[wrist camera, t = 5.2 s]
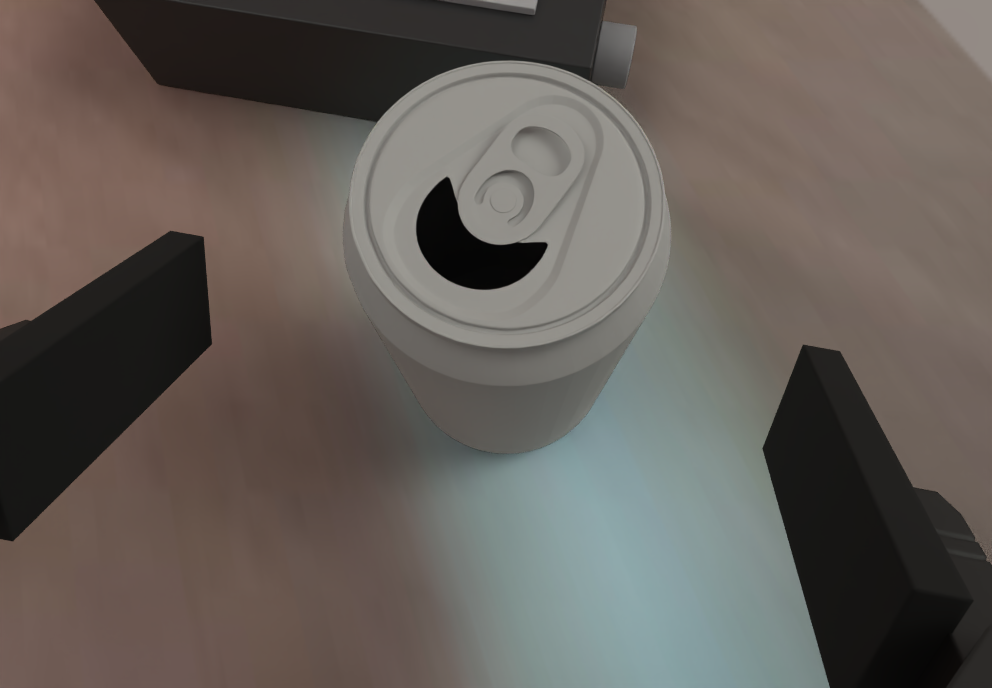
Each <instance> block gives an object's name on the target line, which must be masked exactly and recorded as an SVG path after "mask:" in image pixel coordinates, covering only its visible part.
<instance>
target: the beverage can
mask: <svg viewBox="0 0 992 688" xmlns="http://www.w3.org/2000/svg"><path fill="white" fill-rule="evenodd" d="M343 247H344V257H345V263H346V267H347V271H348V274H349V276H350V279H351V282H352V284H353V287H354V289H355V292H356V294H357V296H358V299H359V301H360V303H361V305H362V307H363V309H364V311H365V312H366V314H367V316H368V318H369V319H370V321H371V323H372V324H373V326H374V328H375V329H376V331H377V333H378V334H379V336H380V338H381V339H382V341H383V343H384V344H385V346H386V348H387V350H388V351H389V353H390V355H391V356H392V358H393V360H394V361H395V363H396V365H397V366H398V368H399V370H400V371H401V373H402V375H403V376H404V378H405V380H406V382H407V383H408V385H409V387H410V388H411V390H412V392H413V393H414V395H415V397H416V398H417V400H418V402H419V403H420V405H421V407H422V408H423V410H424V411H425V413H426V414H427V415H428V417H429V418H430V419H431V420H432V421H433V422H434V423H435V424H436V426H438V427H439V428H440V429H441V430H442V431H443V432H445V433H446V434H447V435H449V436H450V437H452V438H453V439H455V440H457V441H458V442H460V443H462V444H464V445H467V446H469V447H472V448H474V449H477V450H481V451H486V452H491V453H501V454H514V453H522V452H528V451H532V450H535V449H539V448H542V447H544V446H547V445H549V444H551V443H553V442H555V441H557V440H559V439H560V438H562V437H563V436H565V435H566V434H567V433H569V432H570V431H571V430H572V429H574V428H575V427H576V426H577V425H578V424H579V423H580V422H581V421H582V419H583V418H584V417H585V416H586V415H587V413H588V412H589V410H590V409H591V407H592V405H593V404H594V402H595V400H596V399H597V397H598V395H599V394H600V392H601V390H602V389H603V387H604V385H605V384H606V382H607V380H608V379H609V377H610V375H611V374H612V372H613V370H614V369H615V367H616V365H617V364H618V362H619V360H620V359H621V357H622V355H623V354H624V352H625V350H626V349H627V347H628V345H629V344H630V342H631V340H632V339H633V337H634V335H635V334H636V332H637V330H638V329H639V327H640V325H641V324H642V322H643V320H644V319H645V317H646V315H647V314H648V312H649V310H650V309H651V307H652V305H653V303H654V301H655V299H656V297H657V295H658V293H659V291H660V288H661V286H662V283H663V281H664V277H665V274H666V271H667V267H668V262H669V257H670V248H671V222H670V213H669V208H668V203H667V199H666V196H665V190H664V183H663V177H662V173H661V169H660V166H659V162H658V160H657V157H656V154H655V152H654V150H653V148H652V146H651V144H650V142H649V140H648V138H647V136H646V135H645V133H644V131H643V130H642V128H641V127H640V125H639V124H638V123H637V121H636V120H635V119H634V117H633V116H632V115H631V114H630V113H629V112H628V111H627V110H626V109H625V108H624V107H623V106H622V105H621V104H620V103H619V102H618V101H617V100H616V99H615V98H613V97H612V96H611V95H610V94H608V93H607V92H605V91H604V90H603V89H601V88H600V87H598V86H597V85H595V84H594V83H592V82H590V81H588V80H586V79H584V78H582V77H580V76H578V75H576V74H574V73H571V72H568V71H565V70H562V69H559V68H556V67H553V66H549V65H545V64H539V63H533V62H525V61H491V62H482V63H476V64H471V65H467V66H463V67H459V68H456V69H453V70H450V71H447V72H445V73H442V74H440V75H438V76H435V77H433V78H431V79H429V80H427V81H425V82H424V83H422V84H420V85H419V86H417V87H415V88H414V89H412V90H411V91H410V92H408V93H407V94H406V95H404V96H403V97H402V98H400V99H399V100H398V101H397V102H396V103H395V104H394V105H393V106H392V107H391V108H390V109H389V110H388V111H387V112H386V113H385V114H384V115H383V116H382V117H381V118H380V120H379V121H378V122H377V124H376V125H375V126H374V128H373V129H372V130H371V132H370V134H369V135H368V137H367V139H366V141H365V143H364V144H363V146H362V149H361V151H360V153H359V155H358V158H357V160H356V163H355V167H354V170H353V174H352V178H351V183H350V192H349V197H348V200H347V204H346V208H345V214H344V224H343Z"/></svg>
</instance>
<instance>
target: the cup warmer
mask: <svg viewBox="0 0 992 688" xmlns="http://www.w3.org/2000/svg"><path fill="white" fill-rule="evenodd" d="M94 1H95V2H96V3H97V5H98V6H99V7H100V9H101V10H102V11H103V13H104V14H105V15H106V16H107V18H108V19H109V20H110V22H111V23H112V24H113V26H114V27H115V28H116V30H117V31H118V32H119V34H120V35H121V36H122V38H123V39H124V40H125V42H126V43H127V44H128V46H129V47H130V48H131V50H132V51H133V52H134V53H135V55H136V56H137V57H138V59H139V60H140V61H141V63H142V64H143V65H144V67H145V68H146V69H147V71H148V72H149V73H150V75H151V76H152V77H153V79H154V80H155V81H156V83H157V84H160V85H166V86H172V87H178V88H184V89H190V90H195V91H201V92H207V93H213V94H219V95H225V96H231V97H237V98H243V99H249V100H255V101H260V102H266V103H272V104H278V105H284V106H290V107H296V108H302V109H308V110H314V111H320V112H325V113H331V114H337V115H343V116H349V117H355V118H361V119H367V120H373V121H379V120H380V118H381V117H382V116H383V115H384V114H385V113H386V112H387V111H388V110H389V109H390V108H391V107H392V106H393V105H394V104H395V103H396V102H397V101H398V100H399V99H400V98H402V97H403V96H404V95H406V94H407V93H408V92H410V91H411V90H412V89H414V88H415V87H417V86H419V85H420V84H422V83H424V82H425V81H427V80H429V79H431V78H433V77H435V76H438V75H440V74H442V73H445V72H447V71H450V70H453V69H456V68H459V67H463V66H467V65H471V64H476V63H482V62H491V61H525V62H533V63H539V64H545V65H549V66H553V67H556V68H559V69H562V70H565V71H568V72H571V73H574V74H576V75H578V76H580V77H582V78H584V79H586V80H588V81H590V82H592V83H594V84H595V85H602V86H608V87H614V88H620V89H624V88H625V86H626V83H627V79H628V74H629V70H630V65H631V61H632V56H633V51H634V45H635V40H636V34H637V27H636V26H633V25H627V24H620V23H614V22H608V21H602V20H603V15H604V10H605V4H606V0H94Z"/></svg>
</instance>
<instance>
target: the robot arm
mask: <svg viewBox="0 0 992 688" xmlns="http://www.w3.org/2000/svg"><path fill="white" fill-rule="evenodd" d="M211 344H212V339H211V326H210V313H209V300H208V288H207V275H206V262H205V249H204V237H202V236H196V235H191V234H185V233H180V232H174V231H170V232H168V233H166V234H165V235H163V236H162V237H160V238H159V239H157V240H156V241H154V242H153V243H151V244H149V245H148V246H146V247H145V248H143V249H142V250H140V251H139V252H137V253H136V254H134V255H132V256H131V257H129V258H128V259H126V260H125V261H123V262H122V263H120V264H119V265H117V266H115V267H114V268H112V269H111V270H109V271H108V272H106V273H105V274H103V275H102V276H100V277H98V278H97V279H95V280H94V281H92V282H91V283H89V284H88V285H86V286H85V287H83V288H81V289H80V290H78V291H77V292H75V293H74V294H72V295H71V296H69V297H68V298H66V299H64V300H63V301H61V302H60V303H58V304H57V305H55V306H54V307H52V308H51V309H49V310H47V311H46V312H44V313H43V314H41V315H40V316H38V317H37V318H35V319H34V320H32V321H29V320H24V321H21V322H18V323H16V324H13V325H10V326H7V327H4V328H1V329H0V539H4V540H8V541H14V540H15V539H16V538H17V537H18V536H19V535H20V534H21V533H22V532H23V531H24V530H25V529H26V528H27V527H28V526H29V525H30V524H31V523H32V522H33V521H34V520H35V519H36V518H37V517H38V516H39V515H40V514H41V513H42V512H43V511H44V510H45V509H46V508H47V507H48V506H49V505H50V504H51V503H52V502H53V501H54V500H55V499H56V498H57V497H58V496H59V495H60V494H61V493H62V492H63V491H64V490H65V489H66V488H67V487H68V486H69V485H70V484H71V483H72V482H73V481H74V480H75V479H76V478H77V477H78V476H79V475H80V474H81V473H82V472H83V471H84V470H85V469H86V468H87V467H88V466H89V465H90V464H91V463H92V462H93V461H94V460H95V459H96V458H97V457H98V456H99V455H100V454H101V453H102V452H103V451H104V450H106V449H107V448H108V447H109V446H110V445H111V444H112V443H113V442H114V441H115V440H116V439H117V438H118V437H119V436H120V435H121V434H122V433H123V432H124V431H125V430H126V429H127V428H128V427H129V426H130V425H131V424H132V423H133V422H134V421H135V420H136V419H137V418H138V417H139V416H140V415H141V414H142V413H143V412H144V411H145V410H146V409H147V408H148V407H149V406H150V405H151V404H152V403H153V402H154V401H155V400H156V399H157V398H158V397H159V396H160V395H161V394H162V393H163V392H164V391H165V390H166V389H167V388H168V387H169V386H170V385H171V384H172V383H173V382H174V381H175V380H176V379H177V378H178V377H179V376H180V375H181V374H182V373H183V372H184V371H185V370H186V369H187V368H188V367H189V366H190V365H191V364H192V363H193V362H194V361H195V360H196V359H197V358H198V357H199V356H200V355H201V354H202V353H203V352H204V351H205V350H206V349H207V348H208V347H209V346H210V345H211ZM763 452H764V456H765V459H766V463H767V466H768V470H769V473H770V477H771V480H772V484H773V487H774V491H775V495H776V498H777V502H778V505H779V509H780V512H781V516H782V519H783V523H784V526H785V530H786V534H787V537H788V541H789V544H790V548H791V551H792V555H793V558H794V562H795V565H796V569H797V573H798V576H799V580H800V583H801V587H802V590H803V594H804V597H805V601H806V604H807V608H808V612H809V615H810V619H811V622H812V626H813V629H814V633H815V636H816V640H817V643H818V647H819V651H820V654H821V658H822V661H823V665H824V668H825V672H826V675H827V679H828V682H829V686H830V688H992V565H991V564H990V562H987V561H986V558H987V557H986V555H985V553H984V552H983V550H982V548H981V547H980V545H979V543H978V542H975V537H974V535H973V533H972V532H971V530H970V528H969V527H968V525H967V523H966V522H965V520H964V518H963V517H962V515H961V514H960V513H959V512H958V511H957V510H956V509H955V508H954V507H953V506H952V505H951V504H949V503H948V502H947V501H946V500H945V499H944V498H943V497H942V496H941V495H940V494H939V493H938V492H935V491H929V490H924V489H919V488H914V487H913V486H912V484H911V482H910V481H909V479H908V477H907V475H906V473H905V471H904V469H903V468H902V466H901V464H900V462H899V460H898V458H897V456H896V455H895V453H894V451H893V449H892V447H891V445H890V443H889V441H888V440H887V438H886V436H885V434H884V432H883V430H882V428H881V427H880V425H879V423H878V421H877V419H876V417H875V415H874V414H873V412H872V410H871V408H870V406H869V404H868V402H867V401H866V399H865V397H864V395H863V393H862V391H861V389H860V388H859V386H858V384H857V382H856V380H855V378H854V376H853V374H852V373H851V371H850V369H849V367H848V365H847V363H846V361H845V360H844V358H843V356H842V354H841V352H840V351H835V350H830V349H824V348H819V347H813V346H808V345H803V346H802V349H801V351H800V354H799V356H798V359H797V361H796V364H795V366H794V369H793V372H792V374H791V377H790V379H789V382H788V384H787V387H786V390H785V392H784V395H783V397H782V400H781V402H780V405H779V408H778V410H777V413H776V415H775V418H774V420H773V423H772V426H771V428H770V431H769V433H768V436H767V438H766V441H765V444H764V446H763Z"/></svg>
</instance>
